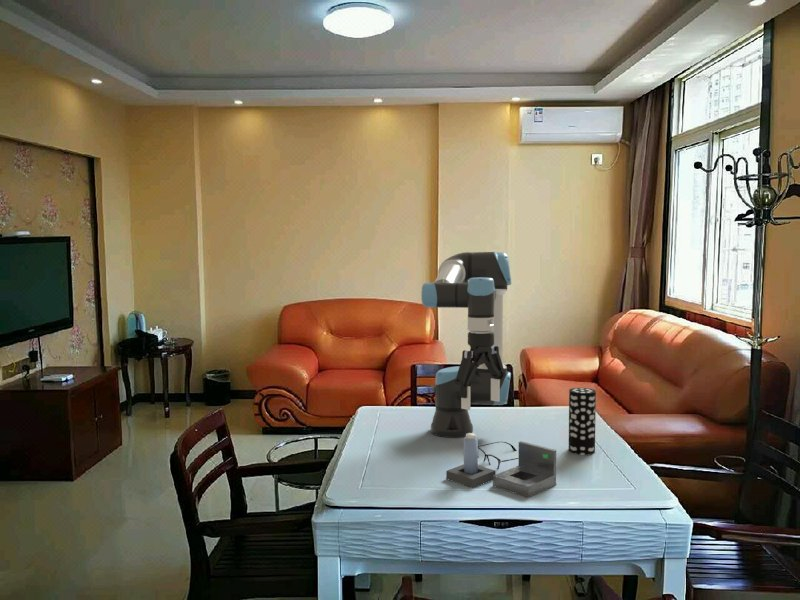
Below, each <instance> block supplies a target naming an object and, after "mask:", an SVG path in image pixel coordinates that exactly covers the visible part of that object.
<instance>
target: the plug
mask: <svg viewBox="0 0 800 600" xmlns="http://www.w3.org/2000/svg"><path fill="white" fill-rule="evenodd" d="M476 436H477V435H476V433H474V432H473V433H467V434H466V436H463V464H464V473H466V474H469V475H474V474H477V473H478V465H479V458H478V457H479V454H478V453H479V449H478V446H479V444H478V443H479V441H478V440H479V438H478V437H476Z"/></svg>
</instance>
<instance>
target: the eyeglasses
mask: <svg viewBox="0 0 800 600" xmlns="http://www.w3.org/2000/svg"><path fill="white" fill-rule="evenodd" d="M497 443H500V441H496V442H490V443H486V444H481V445H478V450H479V451H481V452H482V453H483V456H484V457H483V458H484V459H483V462H486V460H487V462H488V464H489V466H491V462H490V458H489V457H493V458H495V459H496V460H497V463H498V464H497V468H496V470H499V468H500V466H501V463H505V462H509V461H515V460H519V457H517V458H510V459H504V460H501V459H500V458H499V457H497V456H495V455H494V454H486V452H485V451H484V450H483V449H482V448H481V447H484V446H489V445H492V444H497ZM502 443H504V444H506V445H509V446H510V447H511V449H512V450H513V451H514V452H517V449H516V448H515V447H514V445H513V444H511V443H509V442H506V441H502ZM479 458H480V456H478V459H479Z"/></svg>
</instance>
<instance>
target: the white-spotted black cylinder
mask: <svg viewBox="0 0 800 600" xmlns="http://www.w3.org/2000/svg"><path fill="white" fill-rule="evenodd" d="M568 391H569V392H568V395H569V396H568V451H569V452H570V453H572V454H575V455H579V456H580V455H581V456H590V455H594V454H595V453H596V415H597V414H596V411H597V409H596V407H597V406H596V405H597V404H596V403H597V400H596V397H597V391H596V390H595V389H593V388H589V387H572V388H569V390H568Z"/></svg>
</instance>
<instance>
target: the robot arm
mask: <svg viewBox="0 0 800 600" xmlns="http://www.w3.org/2000/svg"><path fill="white" fill-rule="evenodd" d="M437 271H438V272H437V276H436V279H435V280H434V281H432V282H424V283H422V287H421V293H420V294H421V303H422V306H423V307H425V308H433V309H436V308H438V309H439V308H440V309H441V308H443V309H444V308H445V309H446V308H449V309H450V308H453V309H454V308H455V309H457V308H460V309H462V308H464V309H467V330H468V331H469V332H468V333H467V345H468V346H469V348H470V349H469V350H462V353H461V354H462V357H461V361H460V364H459V365H458V366H457V365H456V366H449V367H445V368H441V369H439V370H437V372H436V373H435V382H434V385H435V387H434V388H435V389H434V390H435V411H434V415H433V418H432V422H431V424H430V433H431V434H433V435H434V436H438V437H444V438H462V437H463V438H464V437H466V434H467V433H474V432H473V430H474V427H473V423H472V421H471V420H472V419H471V417H470V413H469V411H470V410H471V405H489V406H491V405H492V406H497V405H498V406H503V405H505V404H506V403H507V402H508V398H509V389H510V383H511V382H510V381H511V377H512V376H511V375H512V373H511V372H510V371H508V367H507V365H506V364H504V362H503V361H504V359H503V356H504V354H503V352H504V351H503V350H504V348H503V347H504V344H503V341H504V340H503V339H504V338H503V337H504V336H503V335H504V333H503V332H504V330H503V329H504V327H503V326H504V320H503V318H504V294H505V293H506V292H507V291H508V286H511V285H512V278H511V269H510V261H509V256H508V254H506V253H505V252H502V251H501V252H499V251H478V252H475V251H474V252H469V251H468V252H467V251H465V252H461V253H457V254H454V255H452V256H449V257H448V258H446V259H445V260H443V261H442V262H441V264H440V265H439V267H438V270H437Z"/></svg>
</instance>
